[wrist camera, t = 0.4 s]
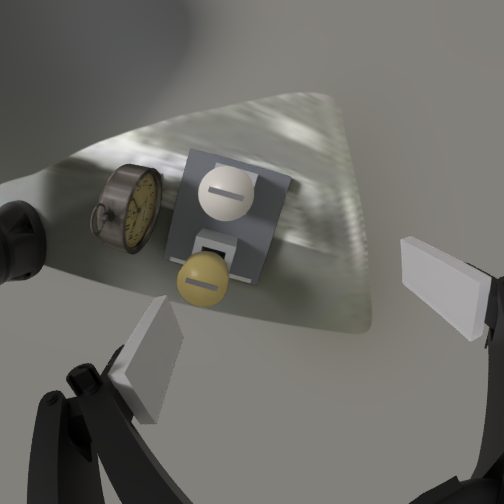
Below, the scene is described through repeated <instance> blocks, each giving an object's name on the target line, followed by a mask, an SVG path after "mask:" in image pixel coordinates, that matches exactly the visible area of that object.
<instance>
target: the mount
mask: <svg viewBox="0 0 504 504" xmlns="http://www.w3.org/2000/svg"><path fill="white" fill-rule="evenodd" d="M221 166H232V167H235V168H238V169H240V170H242V171H243V172H245V173H246V174H247V175H248V176H249V178H250V179H251V182H252V184H253V188H254V199H253V203H252V205H251V207H250V209H249V210H248V211H247V212H246V214H244V215H243V216H242V217H240V218H238V219H236V220H233V221H220V220H216V219H214V218H212V217H211V216H209V215H208V214H207V213H206V212H205V211H204V210H203V208H202V206H201V204H200V202H199V196H198V191H199V186H200V183H201V181H202V179H203V178H204V176H205V175H206V174H207V173H208V172H210V171H211V170H213V169H215V168H217V167H221ZM290 180H291V177H290V176H287V175H284V174H281V173H277V172H274V171H271V170H268V169H264V168H261V167H258V166H254V165H251V164H247V163H244V162H240V161H237V160H233V159H230V158H226V157H222V156H218V155H215V154H211V153H207V152H203V151H199V150H195V149H190V152H189V155H188V159H187V162H186V166H185V169H184V173H183V177H182V181H181V184H180V188H179V192H178V196H177V200H176V204H175V208H174V212H173V217H172V221H171V225H170V230H169V234H168V239H167V244H166V248H165V253H164V258H163V259H165V260H168V261H172V262H175V263H178V264H182V265H184V264H185V262H186V261H187V259H188V258H189V257H190V256H191V255H193V254H194V253H197V252H200V251H210V252H215V253H217V254H218V255H219V256H220V257H222V258H223V260H224V261H225V262H226V264H227V266H228V269H229V278H231V279H235V280H238V281H242V282H245V283H249V284H253V285H257V283H258V280H259V277H260V274H261V271H262V268H263V265H264V262H265V259H266V256H267V253H268V249H269V246H270V243H271V240H272V237H273V234H274V231H275V228H276V225H277V222H278V218H279V215H280V212H281V209H282V206H283V203H284V199H285V196H286V193H287V190H288V187H289V184H290Z"/></svg>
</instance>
